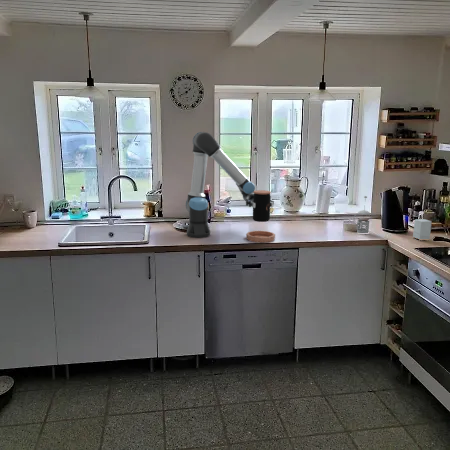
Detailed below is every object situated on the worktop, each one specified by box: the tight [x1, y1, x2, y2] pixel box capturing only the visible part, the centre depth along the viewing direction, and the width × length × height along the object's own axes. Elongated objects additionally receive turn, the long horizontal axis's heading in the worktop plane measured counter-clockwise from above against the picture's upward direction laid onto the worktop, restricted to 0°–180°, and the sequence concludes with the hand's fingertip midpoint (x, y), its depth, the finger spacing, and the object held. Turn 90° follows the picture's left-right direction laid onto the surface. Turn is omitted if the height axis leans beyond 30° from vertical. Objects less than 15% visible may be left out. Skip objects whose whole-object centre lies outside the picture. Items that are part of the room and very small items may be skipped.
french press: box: [352, 195, 371, 233], centre depth 290 cm, size 10×12×25 cm
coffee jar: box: [252, 189, 272, 223], centre depth 268 cm, size 11×11×18 cm
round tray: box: [245, 230, 276, 243], centre depth 272 cm, size 17×17×3 cm
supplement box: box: [412, 218, 433, 240], centre depth 275 cm, size 7×7×13 cm
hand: (263, 205), depth 264 cm, fingers closed on coffee jar, 11 cm apart
